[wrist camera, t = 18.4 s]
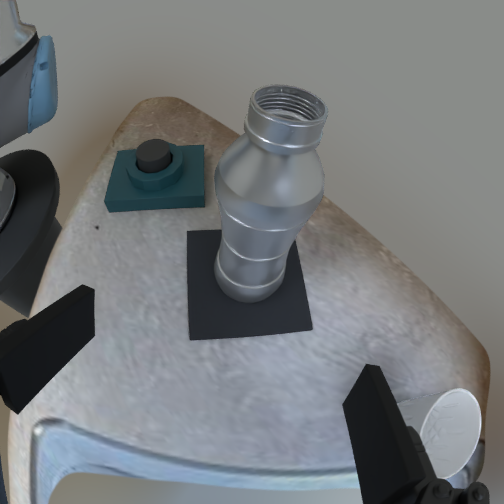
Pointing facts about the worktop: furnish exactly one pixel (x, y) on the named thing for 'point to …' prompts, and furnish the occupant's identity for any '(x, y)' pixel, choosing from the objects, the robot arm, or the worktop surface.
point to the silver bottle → (268, 189)
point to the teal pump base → (157, 182)
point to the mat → (234, 312)
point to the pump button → (153, 156)
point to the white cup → (445, 427)
